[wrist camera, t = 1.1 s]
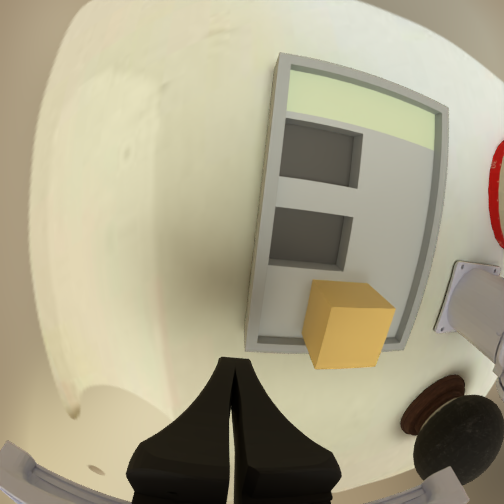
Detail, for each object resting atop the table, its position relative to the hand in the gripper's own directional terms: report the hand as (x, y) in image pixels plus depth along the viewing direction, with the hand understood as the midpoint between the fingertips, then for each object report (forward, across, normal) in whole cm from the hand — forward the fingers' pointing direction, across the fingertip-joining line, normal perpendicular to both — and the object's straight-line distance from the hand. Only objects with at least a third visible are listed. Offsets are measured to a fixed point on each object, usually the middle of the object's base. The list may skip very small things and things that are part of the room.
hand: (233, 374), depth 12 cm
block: (+8, -8, 0) cm, 11 cm away
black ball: (+10, -29, +16) cm, 35 cm away
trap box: (+10, -8, -7) cm, 15 cm away
